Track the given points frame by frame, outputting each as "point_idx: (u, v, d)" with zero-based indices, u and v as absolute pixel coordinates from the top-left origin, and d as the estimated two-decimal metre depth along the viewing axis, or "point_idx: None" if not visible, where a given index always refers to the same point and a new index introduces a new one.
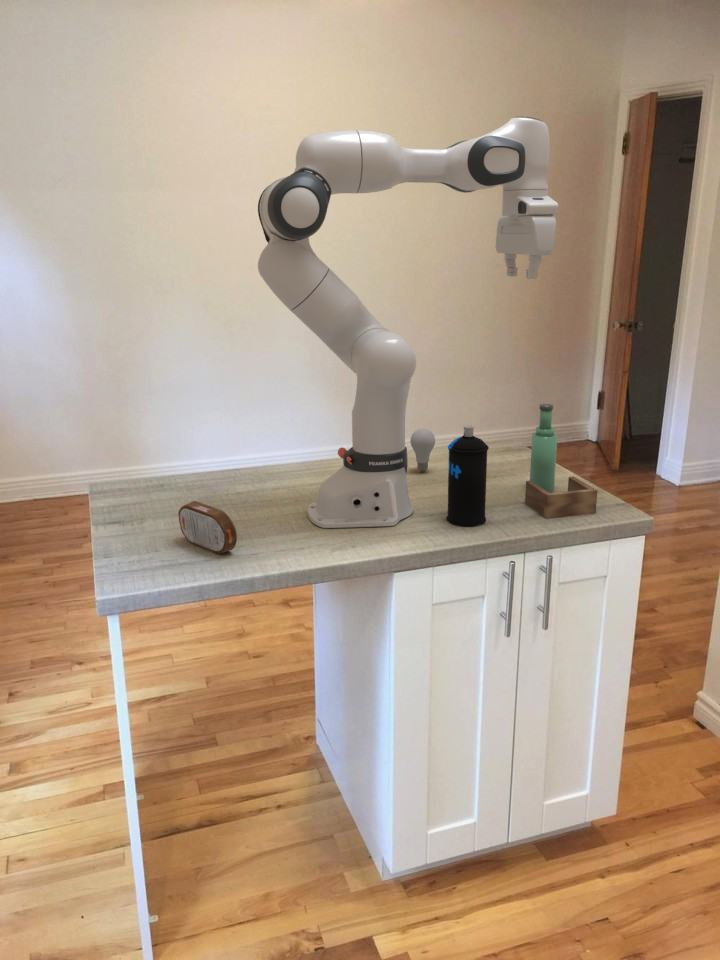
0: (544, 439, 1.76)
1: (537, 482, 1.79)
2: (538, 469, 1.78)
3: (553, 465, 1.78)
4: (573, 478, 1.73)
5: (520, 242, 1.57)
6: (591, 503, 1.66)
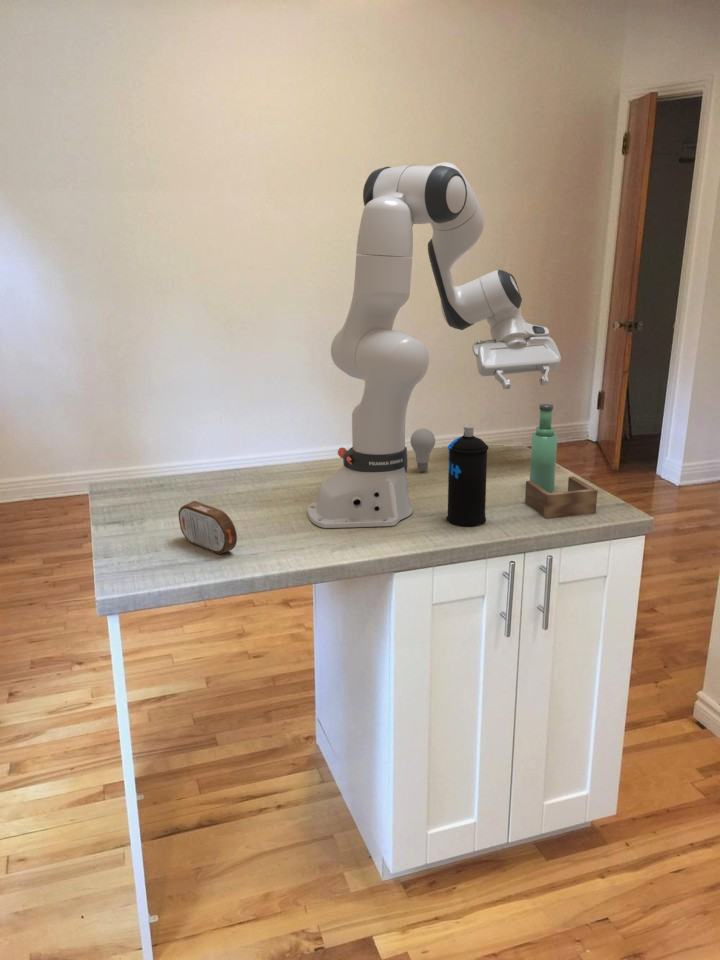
0: (544, 439, 1.76)
1: (537, 482, 1.79)
2: (538, 469, 1.78)
3: (553, 465, 1.78)
4: (573, 478, 1.73)
5: (531, 356, 1.88)
6: (591, 503, 1.66)
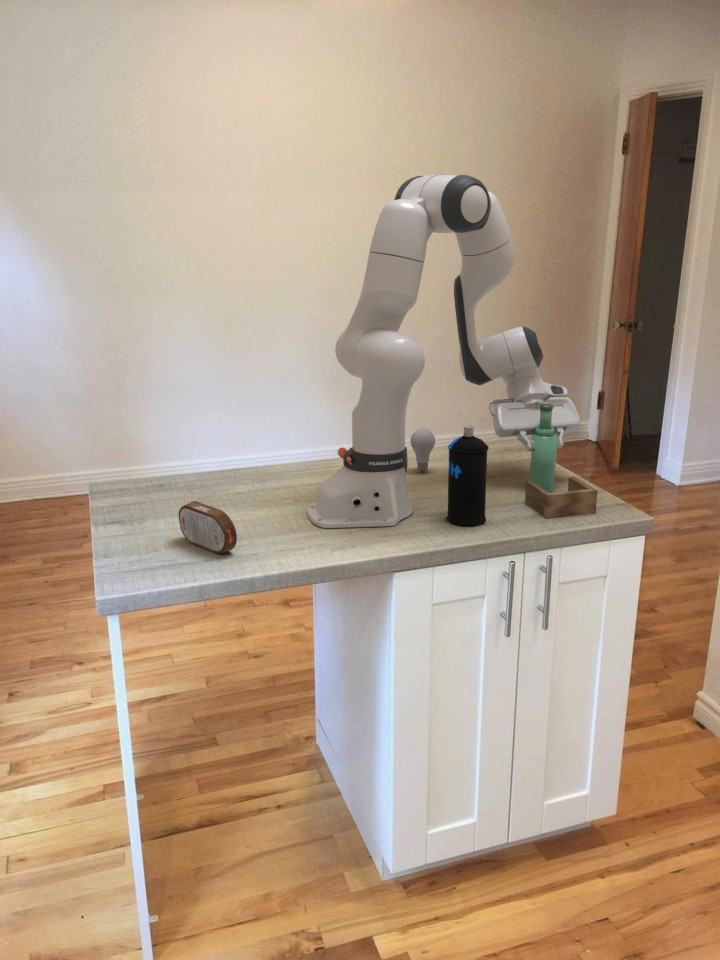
0: (544, 439, 1.76)
1: (537, 482, 1.79)
2: (538, 469, 1.78)
3: (553, 464, 1.78)
4: (573, 478, 1.73)
5: None
6: (591, 503, 1.66)
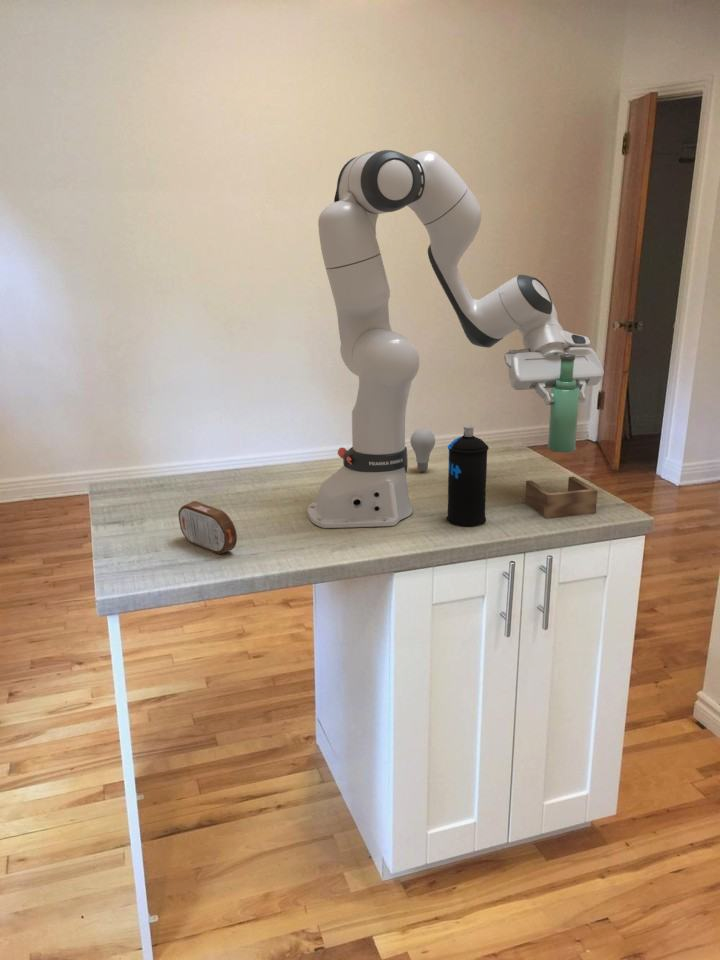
0: (565, 392, 1.60)
1: (557, 440, 1.64)
2: (558, 426, 1.63)
3: (575, 421, 1.63)
4: (573, 478, 1.73)
5: None
6: (591, 503, 1.66)
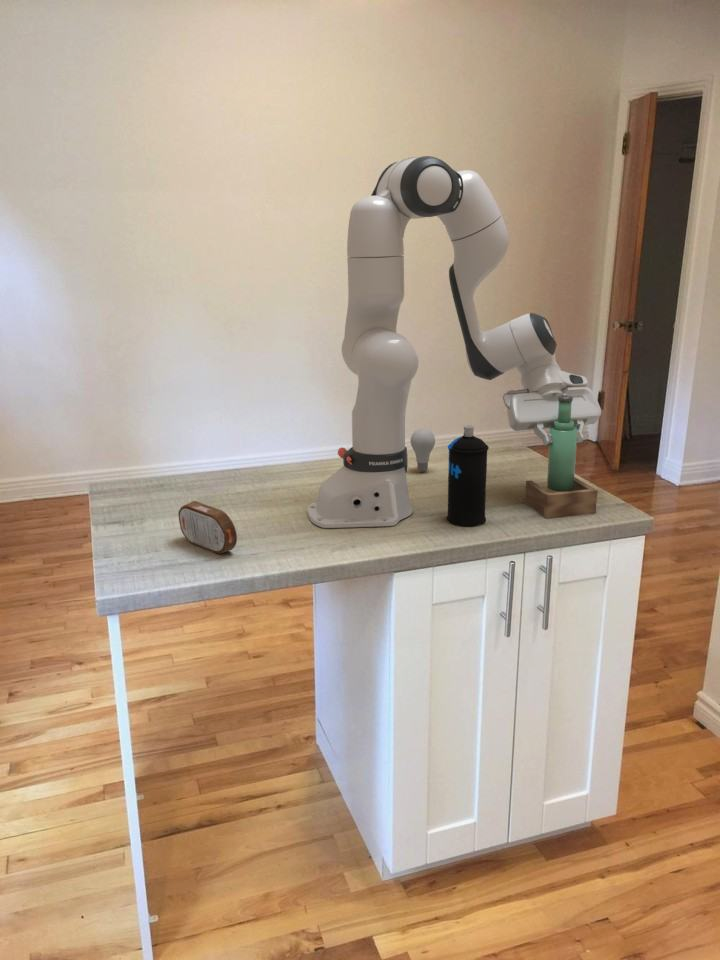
0: (563, 433, 1.63)
1: (555, 480, 1.66)
2: (556, 466, 1.65)
3: (573, 461, 1.65)
4: None
5: None
6: (591, 503, 1.66)
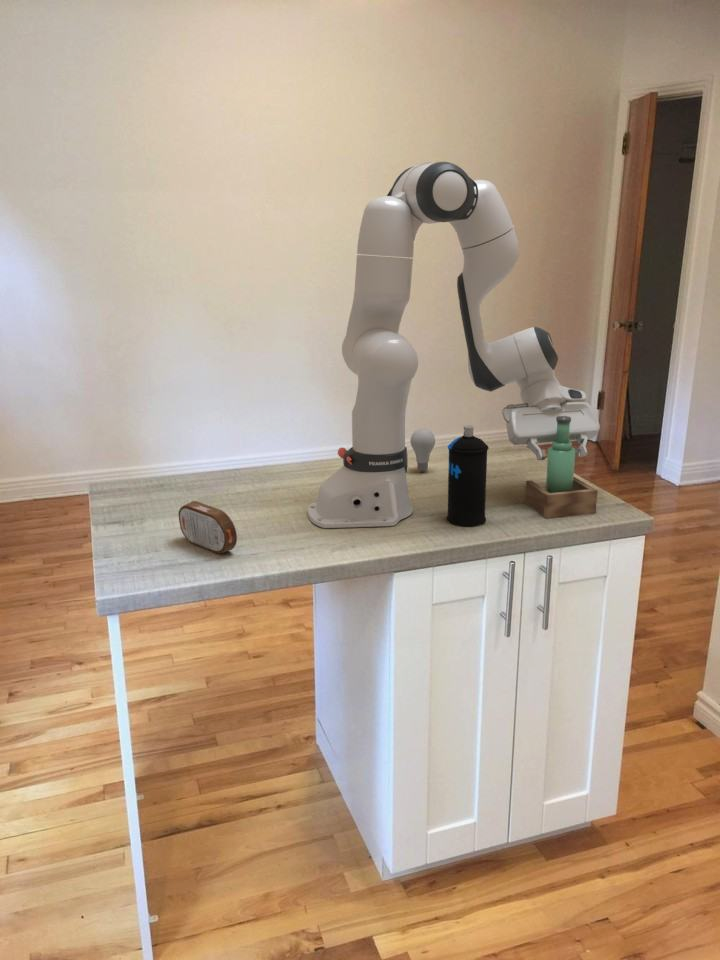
0: (562, 454, 1.64)
1: None
2: (554, 486, 1.67)
3: (571, 481, 1.67)
4: None
5: None
6: (591, 503, 1.66)
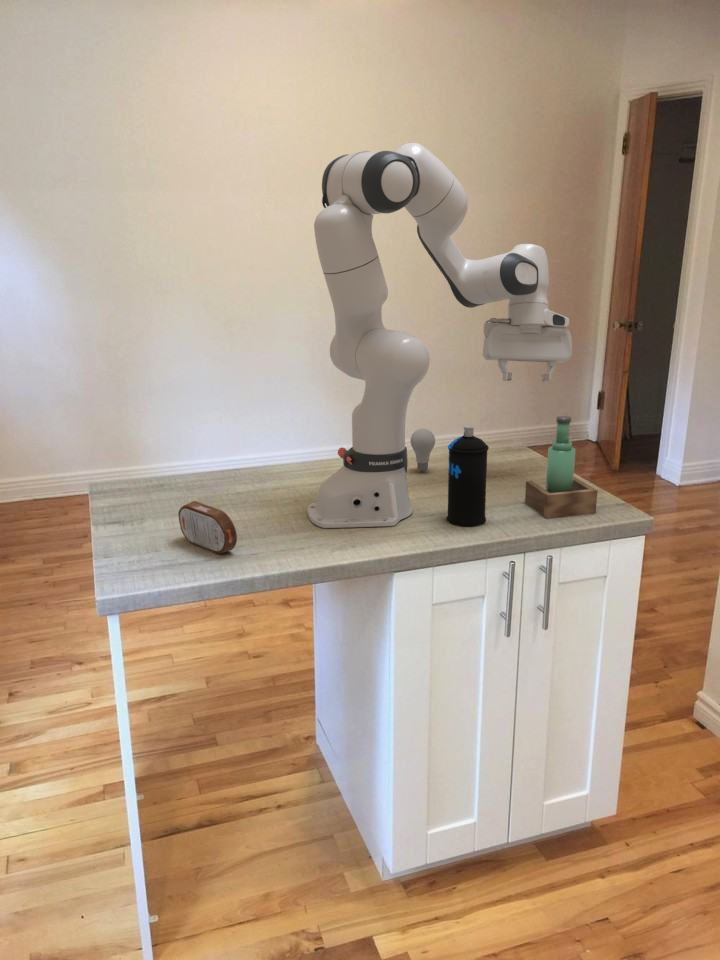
0: (562, 454, 1.64)
1: None
2: (554, 486, 1.67)
3: (571, 481, 1.67)
4: None
5: (542, 349, 1.76)
6: (591, 503, 1.66)
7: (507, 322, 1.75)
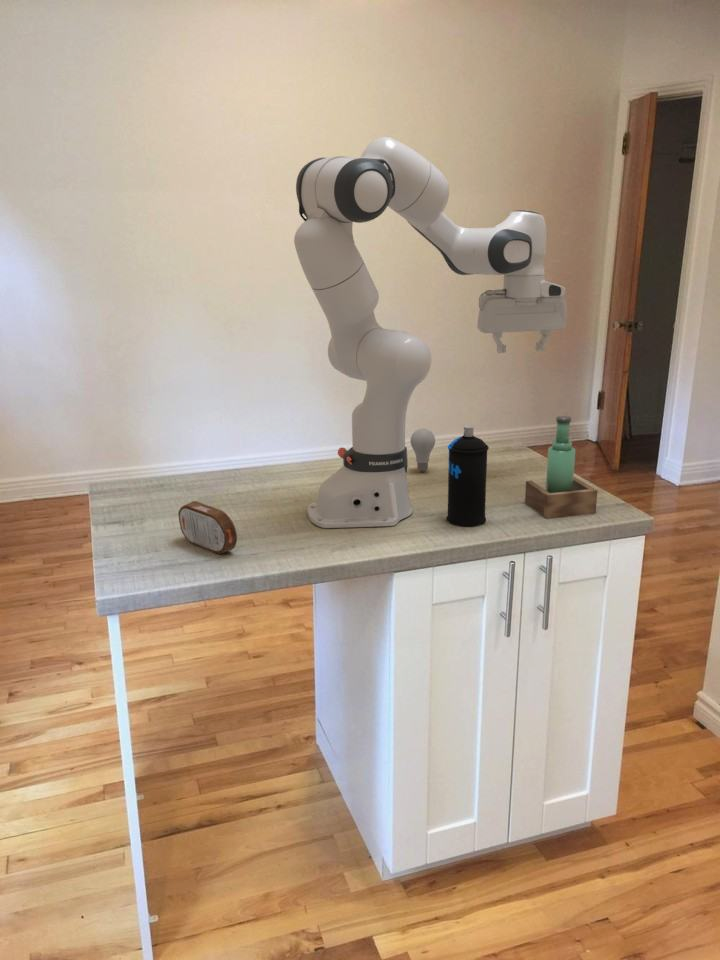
0: (561, 454, 1.64)
1: None
2: (554, 486, 1.67)
3: (571, 481, 1.67)
4: (573, 478, 1.73)
5: (537, 320, 1.74)
6: (591, 503, 1.66)
7: (502, 293, 1.72)
